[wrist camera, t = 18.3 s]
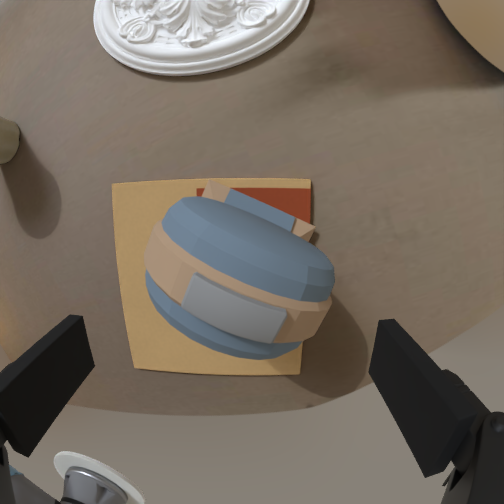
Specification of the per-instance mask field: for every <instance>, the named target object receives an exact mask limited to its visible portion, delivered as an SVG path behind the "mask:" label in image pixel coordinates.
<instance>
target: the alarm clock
mask: <svg viewBox="0 0 504 504" xmlns="http://www.w3.org/2000/svg"><path fill="white" fill-rule="evenodd" d="M315 228H316V227H315V226H313V225H311V224H309V223H307V222H304V221H302V220H300V219H298V218H296V217H294V216H292V215H289V214H287V213H285V212H283V211H281V210H279V209H276V208H274V207H272V206H270V205H267V204H265V203H263V202H261V201H259V200H256V199H254V198H252V197H249V196H247V195H245V194H243V193H240V192H238V191H236V190H233V189H231V188H229V187H226V186H224V185H222V184H219V183H217V182H215V181H212V180H210V179H209V180H208V182H207V185H206V187H205V189H204V192H203V194H202V197H200V196H193V197H183V198H182V199H180V200H179V201H178V202H176V203H175V204H174V205H172V206H171V207H170V208H169V209H168V211H167V213H166V215H165V217H164V218H163V219H161V220H159V221H158V222H157V223H156V224H155V225H154V226H153V229H152V232H151V235H150V238H149V240H148V243H147V246H146V249H145V252H144V265H145V267H146V273H145V279H146V287H147V290H148V293H149V297H150V299H151V301H152V303H153V304H154V306H155V308H156V310H157V311H158V312H159V313H160V314H161V315H162V317H163V318H164V319H165V320H166V321H167V322H168V323H169V324H170V325H171V326H173V327H174V328H176V329H177V330H178V331H180V332H181V333H183V334H184V335H185V336H187V337H188V338H190V339H192V340H194V341H196V342H198V343H200V344H202V345H204V346H206V347H208V348H210V349H212V350H214V351H218V352H221V353H224V354H227V355H231V356H234V357H238V358H245V359H253V360H264V359H273V358H277V357H279V356H281V355H283V354H286V353H288V352H290V351H292V350H294V349H296V348H298V347H299V345H300V344H301V343H302V342H303V341H304V340H306V339H308V338H310V337H312V336H314V335H315V333H316V331H317V329H318V328H319V326H320V324H321V322H322V321H323V319H324V317H325V315H326V314H327V312H328V310H329V308H330V306H331V304H332V300H331V297H330V293H331V291H332V288H333V285H334V282H335V277H334V267H333V265H332V263H331V262H330V261H329V259H328V258H327V256H326V255H325V254H324V253H323V252H322V251H320V250H319V249H318V248H316V247H315V246H313V245H312V244H311V243H309V240H310V238H311V236H312V234H313V232H314V230H315Z"/></svg>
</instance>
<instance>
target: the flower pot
mask: <svg viewBox="0 0 504 504" xmlns="http://www.w3.org/2000/svg"><path fill="white" fill-rule="evenodd" d="M19 134H20V132H19V128H18V126H17V124H16V123H15V122H13V121H11V120H8V119H5V118H3V117H0V164H4V163H7V162H9V161H10V160H11V159H12V158H13V156H14V155H15V153H16V151H17V149H18V146H19Z"/></svg>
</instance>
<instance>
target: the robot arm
mask: <svg viewBox="0 0 504 504" xmlns="http://www.w3.org/2000/svg"><path fill="white" fill-rule="evenodd" d="M94 367H95V365H94V361H93V357H92V353H91V350H90V346H89V342H88V337H87V333H86V329H85V324H84V320H83V316H79V315H69V316H67V317H66V318H65V319H64V320H63V321H61V322H60V323H59V324H58V325H57V326H55V327H54V328H53V329H52V330H51V331H49V332H48V333H47V334H46V335H45V336H43V337H42V338H41V339H40V340H39V341H38V342H36V343H35V344H34V345H33V346H32V347H31V348H29V349H28V350H27V351H26V352H25V353H24V354H23V355H21V356H20V357H19V358H18V359H17V360H16V361H14V362H12V363H10V364H9V365H7V366H6V367H5V368H4V369H3V370H2V371H1V372H0V504H126V503H127V500H128V496H127V494H126V493H125V491H124V490H123V489H122V488H121V487H119V486H118V485H117V484H115V483H114V482H113V481H111V480H109V479H108V478H106V477H104V476H102V475H101V474H99V473H96V472H94V471H92V470H89V469H86V468H83V467H78V466H71V467H69V468H68V470H67V471H66V473H65V479H64V493H63V497H62V499H61V501H60V502H59V501H57V500H56V499H54V498H53V497H51V496H50V495H49V494H47V493H46V492H44V491H43V490H42V489H40V488H39V487H38V486H36V485H35V484H33V483H32V482H31V481H30V480H28V479H27V478H26V477H25V476H24V475H23V474H22V473H20V472H18V471H17V470H16V469H15V468H13V467H12V466H11V465H9V462H8V453H7V450H6V447H5V446H4V443H5V442H6V440H8V442H9V443H10V445H11V446H12V448H13V449H14V451H16V452H18V453H20V454H22V455H24V456H26V457H29V456H30V455H31V453H32V452H33V450H34V449H35V447H36V446H37V444H38V443H39V442H40V440H41V439H42V437H43V436H44V434H45V433H46V432H47V430H48V429H49V427H50V426H51V424H52V423H53V422H54V420H55V419H56V417H57V416H58V415H59V413H60V412H61V411H62V409H63V408H64V406H65V405H66V404H67V402H68V401H69V400H70V398H71V397H72V396H73V394H74V393H75V392H76V390H77V389H78V388H79V386H80V385H81V384H82V382H83V381H84V380H85V378H86V377H87V376H88V374H89V373H90V372H91V371H92V369H93V368H94ZM369 374H370V376H371V378H372V379H373V381H374V383H375V385H376V387H377V388H378V390H379V392H380V394H381V395H382V397H383V399H384V401H385V403H386V405H387V406H388V408H389V410H390V412H391V414H392V415H393V417H394V419H395V421H396V423H397V425H398V426H399V428H400V430H401V432H402V434H403V436H404V438H405V440H406V442H407V444H408V446H409V447H410V449H411V451H412V453H413V455H414V457H415V459H416V461H417V463H418V465H419V467H420V469H421V471H422V473H423V475H424V477H425V478H426V477H429V476H432V475H435V474H438V473H440V472H443V471H444V470H445V469H446V467H447V465H448V464H449V462H450V461H452V462H453V464H454V466H455V468H454V469H453V470H452V472H451V473H450V475H449V476H448V477H447V479H446V480H445V482H444V483H443V485H442V486H445V485H446V484H447V482H448V481H449V482H448V485H447V488H446V491H445V494H444V496H443V499H442V502H441V504H504V413H503V412H492V413H491V412H490V411H489V410H488V409H487V408H486V407H485V405H484V404H483V403H482V402H481V401H480V400H479V399H478V398H477V397H476V395H475V394H474V393H473V392H472V391H470V389H469V388H468V386H467V385H464V382H463V381H462V380H461V379H460V378H459V377H458V376H457V375H456V374H454V373H452V372H451V371H449V370H446V369H445V370H441V369H440V368H439V367H438V366H437V365H436V363H435V362H434V361H433V360H432V359H431V358H430V357H429V356H428V355H427V354H426V352H425V351H424V350H423V349H422V348H421V347H420V346H419V345H418V344H417V343H416V342H415V341H414V339H413V338H412V337H411V336H410V335H409V334H408V333H407V332H406V331H405V330H404V329H403V328H402V327H401V326H400V325H399V324H398V323H397V322H396V320H395V319H386V320H379V322H378V327H377V333H376V338H375V343H374V348H373V353H372V358H371V363H370V367H369Z"/></svg>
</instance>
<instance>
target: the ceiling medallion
mask: <svg viewBox="0 0 504 504" xmlns="http://www.w3.org/2000/svg"><path fill="white" fill-rule="evenodd" d="M309 1H310V0H96V3H95V8H94V28H95V32H96V35H97V37H98V39H99V41H100V43H101V45H102V46H103V47H104V49H105V50H106V51H107V52H108V53H109V54H110V55H111V56H113V57H114V58H115V59H116V60H118V61H119V62H121V63H122V64H124V65H126V66H128V67H130V68H133V69H135V70H138V71H142V72H145V73H150V74H155V75H164V76H189V75H199V74H205V73H211V72H215V71H220V70H223V69H227V68H230V67H233V66H236V65H239V64H242V63H244V62H247V61H249V60H251V59H254V58H256V57H258V56H260V55H261V54H263V53H265V52H267V51H268V50H270V49H272V48H273V47H275V46H276V45H277V44H279V43H280V42H281V41H283V40H284V39H285V38H286V37H287V36H288V35H289V34H290V33H291V32H292V31H293V30H294V29H295V28H296V27H297V25H298V24H299V23H300V21H301V20H302V18H303V16H304V14H305V12H306V10H307V7H308V4H309Z"/></svg>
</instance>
